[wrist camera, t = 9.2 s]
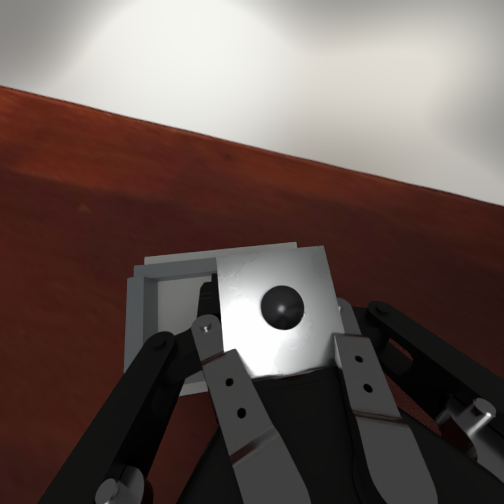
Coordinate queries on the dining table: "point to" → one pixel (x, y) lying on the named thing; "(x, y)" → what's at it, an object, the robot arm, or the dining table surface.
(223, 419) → the robot arm
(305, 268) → the aluminium block
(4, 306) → the dining table surface
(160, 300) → the grey open box
